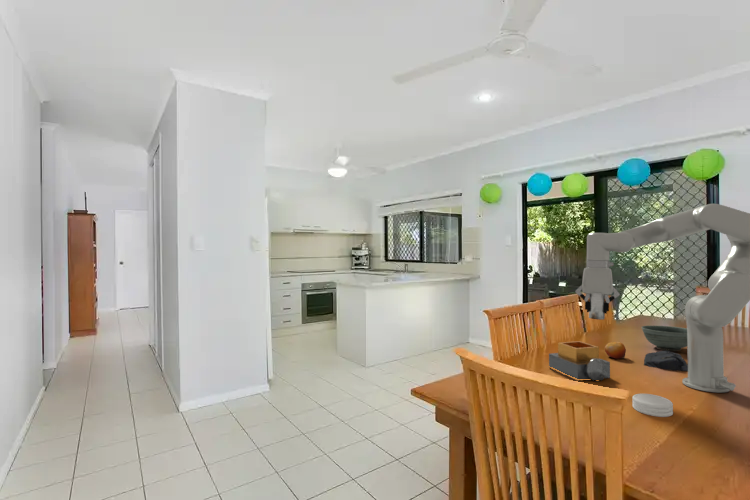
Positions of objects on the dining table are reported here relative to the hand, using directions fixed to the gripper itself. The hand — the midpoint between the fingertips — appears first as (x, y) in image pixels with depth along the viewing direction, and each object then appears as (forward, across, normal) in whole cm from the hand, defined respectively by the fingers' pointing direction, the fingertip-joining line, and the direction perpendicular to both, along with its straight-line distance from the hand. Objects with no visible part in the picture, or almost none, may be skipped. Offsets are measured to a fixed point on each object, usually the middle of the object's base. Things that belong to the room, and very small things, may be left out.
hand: (596, 311), depth 148 cm
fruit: (+24, -8, -31) cm, 40 cm away
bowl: (+23, -32, -57) cm, 70 cm away
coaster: (+24, -14, +29) cm, 41 cm away
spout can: (+2, 0, 0) cm, 2 cm away
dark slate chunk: (+24, -26, -30) cm, 47 cm away
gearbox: (+24, +6, 0) cm, 25 cm away
